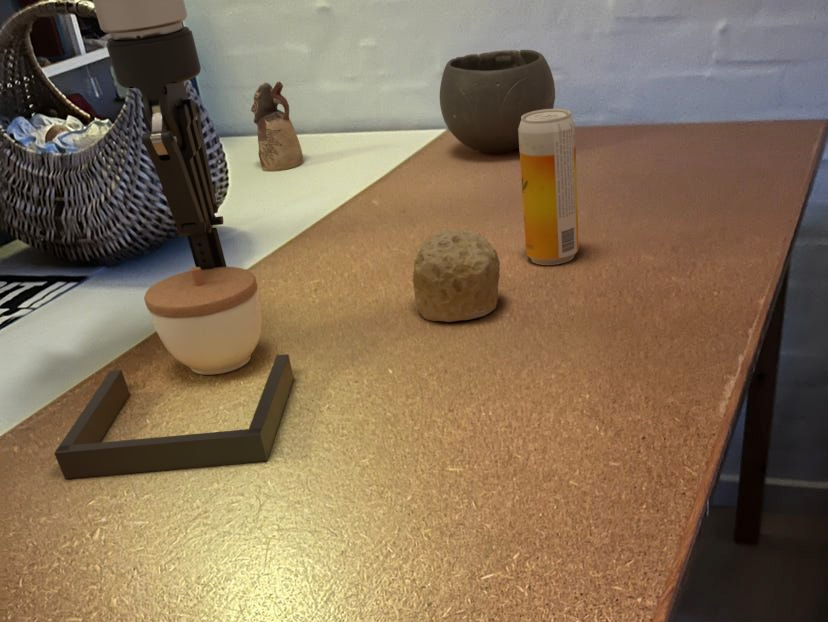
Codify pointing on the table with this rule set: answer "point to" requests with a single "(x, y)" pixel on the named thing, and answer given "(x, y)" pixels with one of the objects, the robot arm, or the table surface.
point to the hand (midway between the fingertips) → (219, 295)
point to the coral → (456, 276)
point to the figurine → (275, 130)
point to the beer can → (549, 185)
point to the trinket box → (207, 317)
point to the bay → (172, 452)
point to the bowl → (494, 96)
